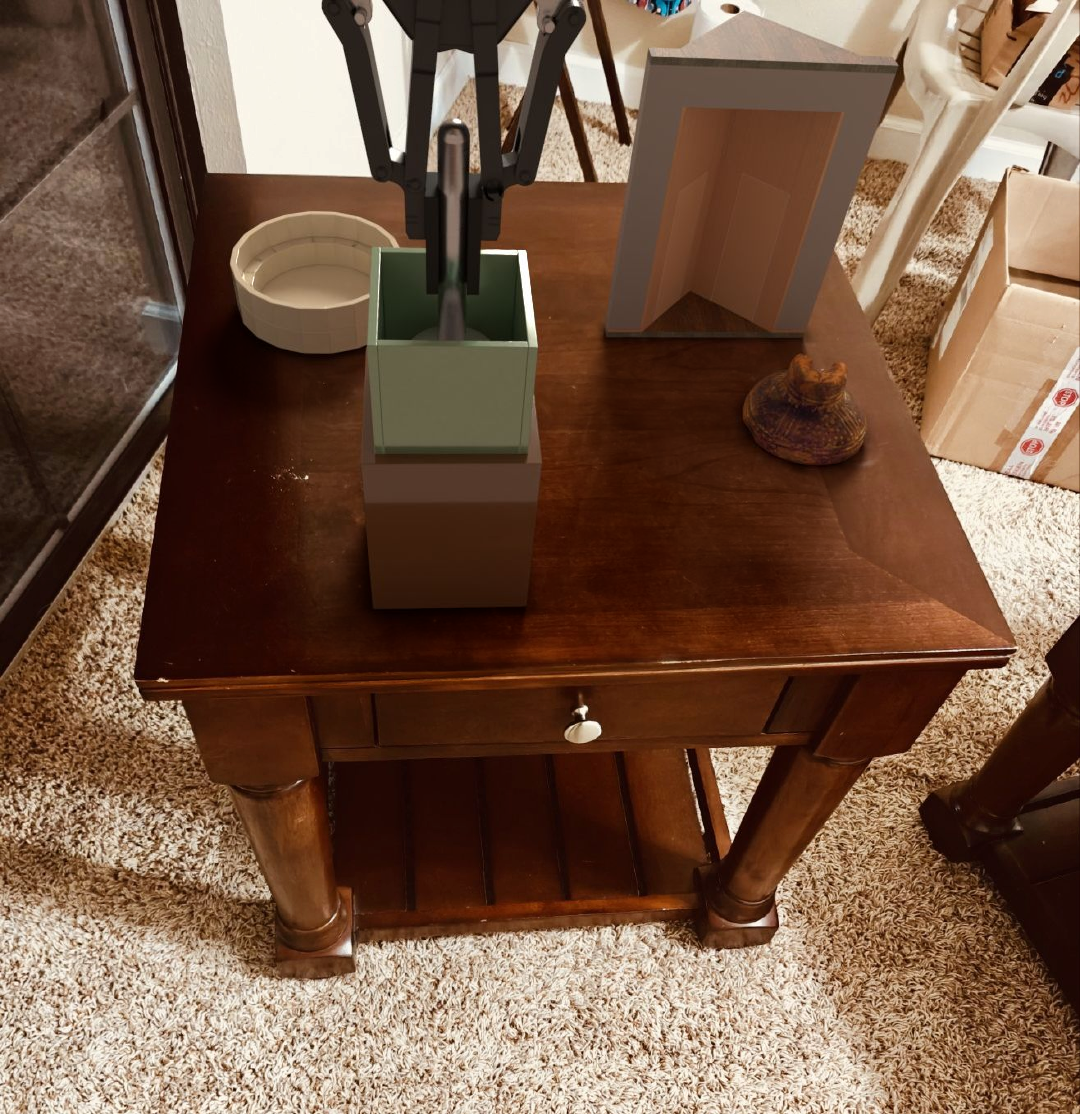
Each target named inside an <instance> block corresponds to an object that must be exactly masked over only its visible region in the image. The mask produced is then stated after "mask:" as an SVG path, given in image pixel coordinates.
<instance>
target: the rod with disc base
mask: <svg viewBox="0 0 1080 1114" xmlns="http://www.w3.org/2000/svg"><path fill="white" fill-rule="evenodd" d="M436 136H437V137H436V140H437V141H436V143H437V145H436V146H437V147H436V148H437V150H436V154H437V157H436V158H437V159H436V160H437V164H436V165H437V167H436V168H437V169H436V170H437V171H436V172H437V185H438V216H439V295H438V326H436V327H432V328H429V329H426V330H424V331H422V332H420V333H419V334H417V335H416V336H415V337H414V338H412V340H436V341H490V340H489V339H488V338H487V337H486V336H485V335H483V334H482V333H480V332H478V331H476V330H473V329H471V328H467V327H466V293H467V287H466V277H467V234H468V190H469V173H470V167H471V166H470V162H471V161H470V160H471V132H470V129H469V127H468V125H467V123H465V122H464V120H462V119H459V118H456V117H450V118H447V119H445V120H444V121H442V122H441V124H440V125H439V126H438V129H437V135H436Z"/></svg>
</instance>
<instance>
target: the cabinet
mask: <svg viewBox="0 0 1080 1114" xmlns="http://www.w3.org/2000/svg"><path fill="white" fill-rule="evenodd" d="M645 60H646V61H645V67H644V73H643V79H642V84H641V93H640V99H639V104H638V110H637V111H638V112H637V117H636V124H635V130H634V138H633V142H632V150H631V155H630V161H629V168H628V175H627V181H626V187H625V193H624V199H623V207H622V212H621V219H620V224H619V226H620V227H619V232H618V237H617V244H616V251H615V257H614V264H613V268H612V269H613V270H612V276H611V283H610V288H609V296H608V301H607V309H606V314H605V315H606V316H605V320H604V327H603V328H604V332H605V336H606V338H730V339H731V338H735V339H736V338H741V339H742V338H743V339H744V338H746V339H747V338H752V339H753V338H757V339H759V338H760V339H761V338H765V339H766V338H771V339H774V338H776V339H777V338H778V339H779V338H780V339H782V338H783V339H784V338H785V339H788V338H789V339H803V338H804V336H805V333H806V330H807V328H808V325H809V323H810V319H811V317H812V314H813V311H814V308H815V306H816V302H817V299H818V296H819V294H820V291H821V289H822V286H823V283H824V279H825V277H826V274H827V272H828V269H829V265H830V263H831V260H832V257H833V255H834V251H835V248H836V245H837V244H838V243H837V242H838V239H839V237H840V234H841V231H842V228H843V226H844V224H845V220H846V217H847V214H848V211H849V208H850V205H851V203H852V199H853V197H854V194H855V192H856V189H857V185H858V183H859V179H860V177H861V175H862V171H863V169H864V166H865V162H866V160H867V158H868V155H869V151H870V148H871V145H872V143H873V139H874V137H875V135H876V131H877V129H878V125H879V123H880V120H881V117H882V114H883V111H884V109H885V107H886V106H885V105H886V102H887V99H888V97H889V94H890V91H891V89H892V86H893V83H894V81H895V80H894V79H895V77H896V74H897V71H898V68H899V64H898V62H897V61H896V60H895V58H894V57H893V56H881V55H880V56H879V55H877V56H876V55H862V54H859V53H857V52H854V51H851V50H849V49H846V48H843V47H841V46H838V45H835V44H832V43H831V42H828V41H826V40H823V39H820V38H817V37H815V36H812V35H809V34H807V33H804V32H802V31H799V30H796V29H794V28H791V27H789V26H787V25H783V24H781V23H778V22H776V21H773V20H770V19H768V18H765V17H763V16H761V15H757V14H755V13H752V12H749V11H746V10H742V11H740V12H739V13H738V14H735V15H734V16H732V17H731V18H729V19H727V20H725V21H724V22H722V23H720V24H719V25H717V26H715V27H714V28H712V29H710V30H708V31H707V32H705V33H703V34H701V35H700V36H699V37H697V38H695V39H693V40H692V41H690V42H688V43H687V44H685V45H683V46H681V47H680V48H675V47H673V48H672V47H651V46H649V47H647V55H646V59H645Z"/></svg>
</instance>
